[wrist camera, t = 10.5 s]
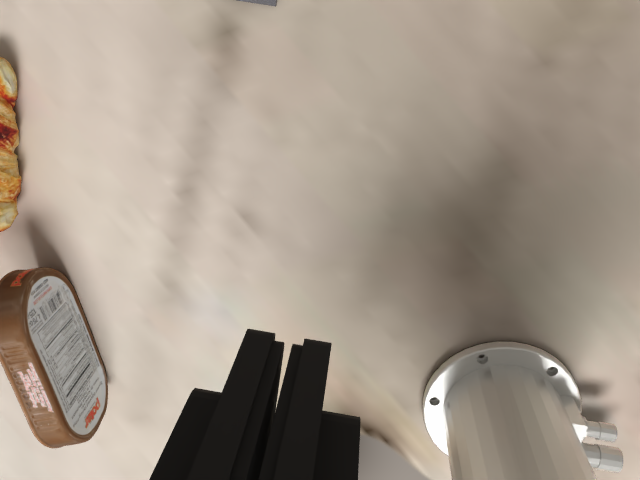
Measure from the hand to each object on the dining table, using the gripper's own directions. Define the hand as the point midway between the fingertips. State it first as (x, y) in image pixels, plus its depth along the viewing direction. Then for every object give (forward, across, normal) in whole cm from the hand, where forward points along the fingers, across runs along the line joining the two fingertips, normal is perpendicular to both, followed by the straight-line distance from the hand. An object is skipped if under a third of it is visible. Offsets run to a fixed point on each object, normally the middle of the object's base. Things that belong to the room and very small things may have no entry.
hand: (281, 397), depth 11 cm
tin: (+31, +20, +22) cm, 43 cm away
